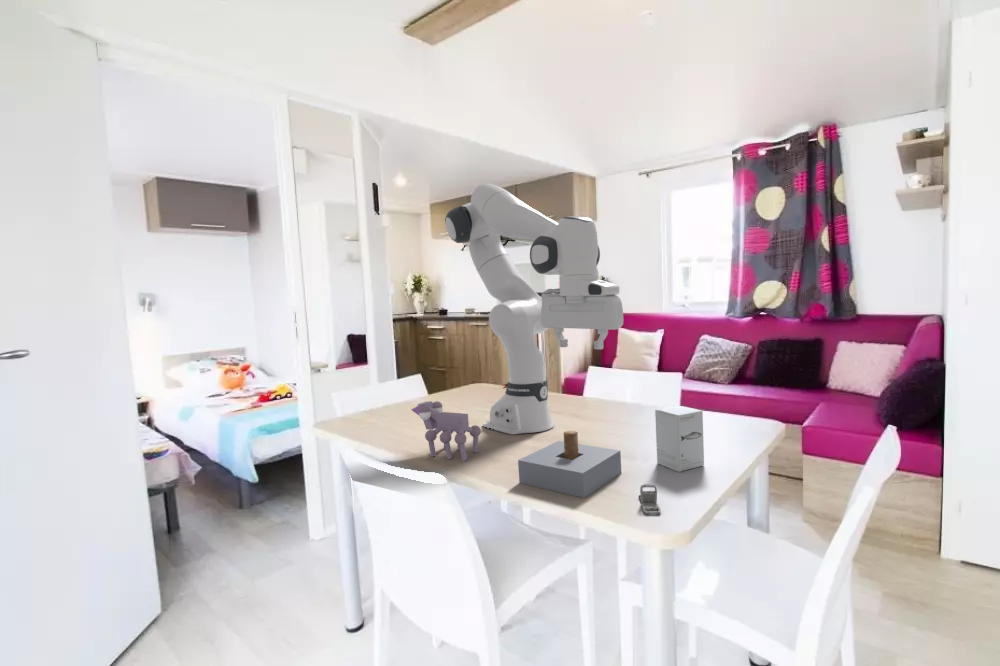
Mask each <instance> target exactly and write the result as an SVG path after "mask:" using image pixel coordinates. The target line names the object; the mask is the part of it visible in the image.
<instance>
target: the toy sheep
mask: <svg viewBox="0 0 1000 666" xmlns="http://www.w3.org/2000/svg"><path fill="white" fill-rule="evenodd" d="M410 410H411V411H412V412H413V413H415V414H416V415H417V416H419V418H420V419H421V420H423V424H424V426H425V429H426V430H427V431H426V432H425V434H424V438H425V439H426V441H427V443H428V448H429V452H430V457H431V456H435V455H436V456H437V453H436V446H435V442H434V441H435V440H437V436H438V434H439V433H440V434H439V440H440V442H441V443H443V449H445V456H446V460H451V459H453V455H452V450H451V449H452V448H451V444H450V442H451V441H452V434H453V433H454V432H455V433H456V435H454V442H455V443H456V444H457V446H456V447H457V449H458V451H459V452H460V458H461V462H465V461H468V457H467V450H466V446H465V445H466V442H467V436H466V432H467V433H469V435H470V436H471V437H472V439H473V440H472V443H473V444H472V452H473V453H479V436H480V434H482V433H481V432H482V430H481V428H480V426H478V425H472V426H469V423H470V422H469V414H468V413H462V412H461V413H460V412H448V411H447V412H446V411H444V409H443V404H442V402H440V401H437V400H436V401H434V402H433V401H424V402H419V403H417V406H415V407H413V408H411V409H410ZM457 449H456V450H457ZM436 456H435V457H436Z"/></svg>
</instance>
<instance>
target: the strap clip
mask: <svg viewBox="0 0 1000 666" xmlns="http://www.w3.org/2000/svg"><path fill="white" fill-rule="evenodd" d="M644 488H654V490H643V489H644ZM639 489H640V490H639V495H638V500H639V502H640V504H641V508H642V513H643V514H644V515H645V516H660V515H661V514H662V513H661V507H660V506H659V504H658V503H657V502H658V488H657V485H656V484H652V483H644V484H642V485H640V488H639Z"/></svg>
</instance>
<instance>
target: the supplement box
mask: <svg viewBox="0 0 1000 666" xmlns="http://www.w3.org/2000/svg"><path fill="white" fill-rule="evenodd" d="M654 413H655V415H654V416H655V441H656V444H655V445H656V463H657V464H659V465H661V466H663V467H665V468H668V469H671V470H674V471H676V472H678V473H682V472H683V471H686V470H691V469H695V468H698V467H703V466H705V455H704V453H705V448H704V421H703V420H704V418H703V416H704V414H703V413H704V412H703V410H701V409H697V408H693V407H688V406H684V405H683V406H682V405H675V406H670V407H663V408H658V409H655V411H654Z"/></svg>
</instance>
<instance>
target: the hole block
mask: <svg viewBox="0 0 1000 666" xmlns="http://www.w3.org/2000/svg"><path fill="white" fill-rule="evenodd" d="M578 453H579V457H578V458H576V459H574V460H571V459H565V452H564V440H558V441H556V442H553V443H552V444H551V443H550V444H549V445H547V446H545V447H543V448H541V449H538V450H537V451H535V452H532V453H530V454H528V455H526V456H523V457H522V458H520V459H517V465H518V467H517V468H518V483H519V484H523V485H528V486H531V487H536V488H540V489H543V490H548V491H553V492H557V493H561V494H565V495H569V496H574V497H577V498H581V499H585V498H587V497H588V496H590V495H591V494H592V493H594V492H596V491H597V490H598V489H600V488H601V487H603V486H604V485H606V484H607V483H609V482H610V481H612V480H613V479H615V478H616V477H618V476H619V475H620V474H622V459H621V458H622V456H621V450H619V449H613V448H606V447H600V446H593V445H587V444H581V443H578Z"/></svg>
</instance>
